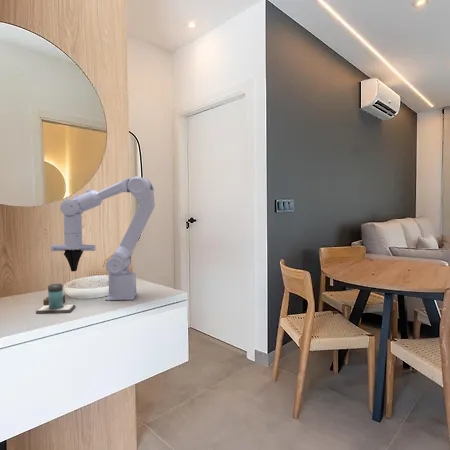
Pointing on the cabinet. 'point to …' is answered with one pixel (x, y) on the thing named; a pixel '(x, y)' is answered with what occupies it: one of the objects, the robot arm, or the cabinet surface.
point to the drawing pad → (46, 309)
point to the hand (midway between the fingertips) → (74, 270)
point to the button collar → (46, 301)
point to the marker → (55, 296)
